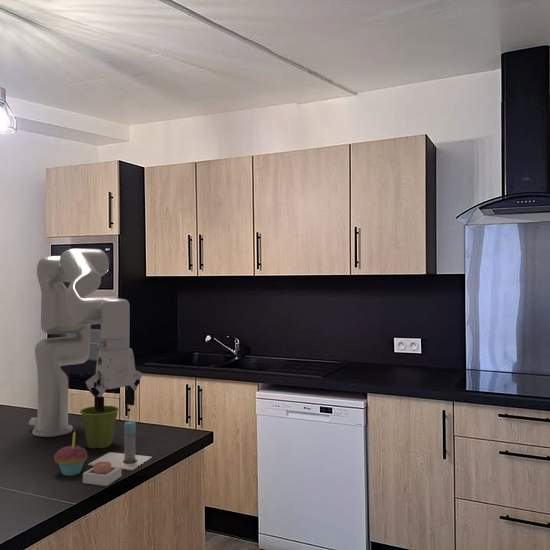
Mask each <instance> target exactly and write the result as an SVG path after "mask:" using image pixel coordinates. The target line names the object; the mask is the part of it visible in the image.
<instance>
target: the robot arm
mask: <svg viewBox="0 0 550 550" xmlns="http://www.w3.org/2000/svg"><path fill="white" fill-rule="evenodd" d="M109 266H110V261H109V257H108V255H107V254H106V252H105V251H103V250H102V249H100V248H69V249H66V250H65V251H64V252H62V253H61V254H60V255H48V256H45V257H42V258H41V259H39V261H38V263H37V266H36V276H37V280H38V284H39V287H40V291H41V298H40V299H41V301H40V302H41V303H40V305H41V306H40V309H41V311H40V327H41V330H42V332H43V333H44V334H48V335H62V334H63V335H65V334H73V336H61V337H49V338H48V337H47V338H44V339H41V340H39V341H38V342H37V343H36V344H35V347H34V356H35V361H36V362H35V363H36V369H37V370H36V371H37V417H31V419H30V420H29V421H28V425H29V426H30V425H31V426H34V428H33V429H32V435H33V436H36V437H42V438H51V437H52V438H53V437H60V436H64V435H68V434H70V433H72V431H73V430H74V429H73V425H71V424H69V379H68V375H67V374H66V373H65V372H64V371H63V369H62V368H61V367H64V366H69V365H81V364H85V363H86V362H87V361H88V360H89V358H90V352H91V351H90V350H91V328H92V327H91V326H92V325H100V340H99V341H97V343H96V346H97V348H100V350H98V353H97V357H96V365H95V374H94V375H92V376H91V377H89V378H88V379H87V380H86V381H85V385H86V387H87V388H88V391H89V393H91V395H92V396H93V397H94V407H95V410H96V411H99V412H104V406H105V396H103V395H104V393H105V392H106V390H112V389H113V390H114V389H118V388H123V387H126V389H125V394H124V395H125V401H124V403H125V404H126V405H128V406H134V405H135V401H136V397H135V395H136V391H137V388H138V386H139V384H140V382H141V379H142V377H143V373H142V372H141V371H139V370H137V369H136V364H135V363H136V362H135V356H134V351H133V349H132V348H130V334H131V333H130V323H131V322H130V320H131V317H130V312H131V311H130V309H131V308H130V307H131V306H130V302H129V300H127V299H124V298H118V297H116V296H98V297H96V296H95V297H94V296H93V297H91V296H90V297H88V296H89V295H91V294H93V293H94V292H96V291H97V290H98V289H99V287H100V286H101V283H102V277H103V276H105V275H106V274H107V272H108V271H109V268H110V267H109ZM64 283H69V285H68V287H67V286H66V285H65V284H64Z"/></svg>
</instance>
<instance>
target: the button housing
mask: <svg viewBox="0 0 550 550" xmlns="http://www.w3.org/2000/svg"><path fill="white" fill-rule="evenodd" d="M121 468H122V467H116V466H111V472H109V473H108V474H106V475H104V474H96V473H94V466H92V468H91V467H90V468H89V469H88V470H86V471H84V472H82V483H83V484H87V485H88V484H89V485H96V486H103V487H104V486H105V487H107V486H110V485H111V484H112V483H113V482H115V481H116V480H119V478H122V469H121Z"/></svg>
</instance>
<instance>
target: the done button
mask: <svg viewBox="0 0 550 550" xmlns="http://www.w3.org/2000/svg"><path fill="white" fill-rule="evenodd" d="M93 467H94V473H96V474H104V475H106V474H108V473H109V472H111V463H110V462H98V463H95V464H94V466H93Z"/></svg>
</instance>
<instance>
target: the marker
mask: <svg viewBox="0 0 550 550" xmlns="http://www.w3.org/2000/svg"><path fill="white" fill-rule="evenodd" d="M136 426H137V425H136V421H133V420H132V421H131V420H129V421H125V422H124V426H123V431H124V432H123V433H124V435H123V436H124V439H123V441H124V447H123V448H124V449H123V450H124V453H123V454H124V462H125V463H132V462H135V455H136Z"/></svg>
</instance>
